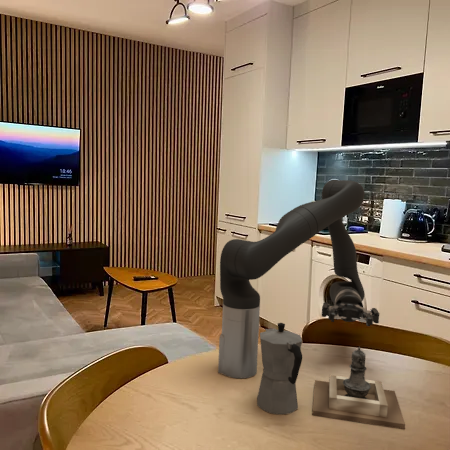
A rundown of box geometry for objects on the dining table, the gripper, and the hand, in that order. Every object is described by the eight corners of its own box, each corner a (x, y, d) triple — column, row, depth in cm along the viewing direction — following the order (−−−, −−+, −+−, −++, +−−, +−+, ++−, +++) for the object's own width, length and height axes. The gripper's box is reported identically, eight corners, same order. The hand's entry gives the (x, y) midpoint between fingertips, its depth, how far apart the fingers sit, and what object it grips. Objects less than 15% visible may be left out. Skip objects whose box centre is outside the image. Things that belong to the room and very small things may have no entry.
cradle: (312, 415, 92) (313, 398, 92) (314, 384, 107) (315, 370, 107) (404, 429, 88) (406, 412, 88) (394, 395, 103) (395, 380, 103)
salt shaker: (343, 404, 95) (346, 350, 94) (340, 392, 101) (344, 340, 100) (371, 408, 94) (375, 353, 93) (367, 395, 100) (371, 343, 99)
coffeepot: (245, 392, 101) (249, 315, 99) (283, 388, 104) (287, 312, 103) (275, 428, 87) (279, 338, 85) (317, 422, 90) (322, 335, 88)
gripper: (323, 288, 127) (322, 301, 111) (376, 294, 124) (382, 308, 108) (321, 314, 127) (320, 331, 112) (373, 320, 124) (379, 338, 108)
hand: (350, 320), depth 110 cm, fingers open, 8 cm apart
